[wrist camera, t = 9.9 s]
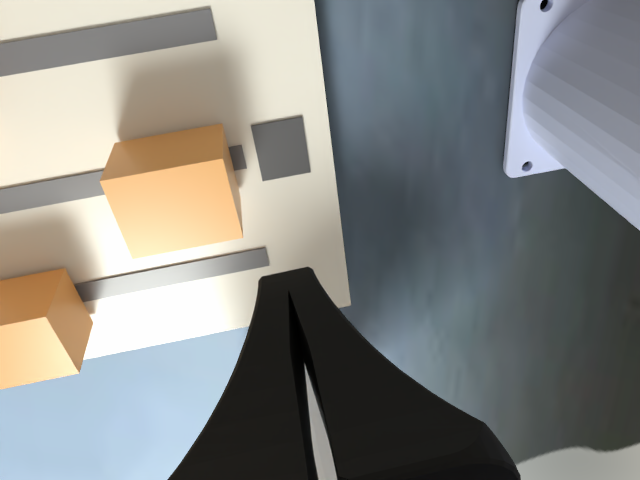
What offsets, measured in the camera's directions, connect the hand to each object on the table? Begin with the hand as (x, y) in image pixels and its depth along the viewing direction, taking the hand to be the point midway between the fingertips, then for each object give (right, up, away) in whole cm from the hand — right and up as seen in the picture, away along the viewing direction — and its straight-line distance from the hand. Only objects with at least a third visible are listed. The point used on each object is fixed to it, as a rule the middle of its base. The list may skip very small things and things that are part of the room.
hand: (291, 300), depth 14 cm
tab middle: (-5, +4, +7) cm, 9 cm away
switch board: (-9, +5, +8) cm, 13 cm away
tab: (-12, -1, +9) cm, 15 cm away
